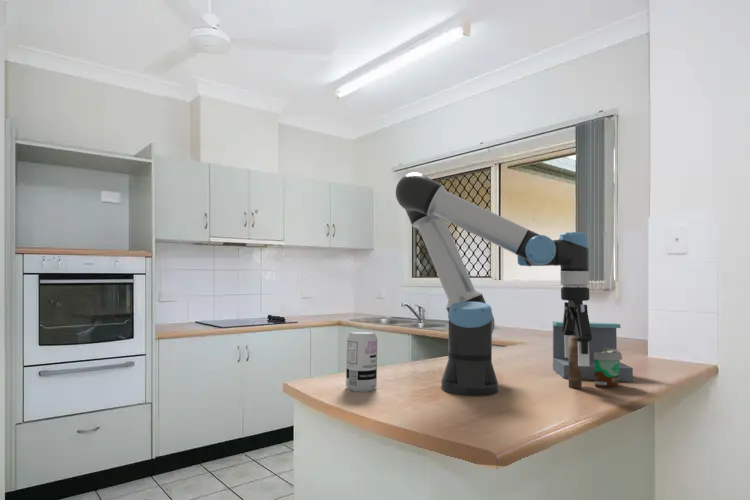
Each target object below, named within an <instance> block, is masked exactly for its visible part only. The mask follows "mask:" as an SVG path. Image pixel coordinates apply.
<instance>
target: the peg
mask: <svg viewBox="0 0 750 500" xmlns="http://www.w3.org/2000/svg"><path fill="white" fill-rule="evenodd" d="M577 338H578V337H569V379H568V388H570V389H577V390H581V389H582V386H583V382H582V381H583V379H582V366H578V342H577V341H576V340H577Z"/></svg>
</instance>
